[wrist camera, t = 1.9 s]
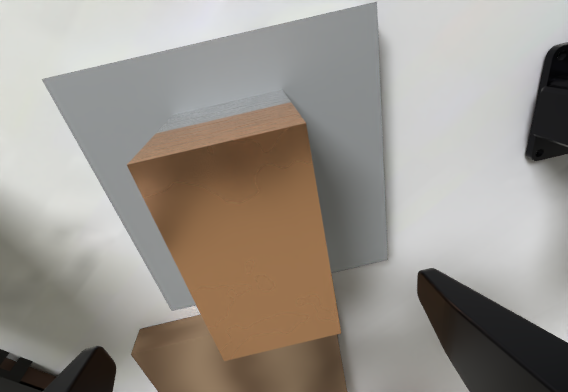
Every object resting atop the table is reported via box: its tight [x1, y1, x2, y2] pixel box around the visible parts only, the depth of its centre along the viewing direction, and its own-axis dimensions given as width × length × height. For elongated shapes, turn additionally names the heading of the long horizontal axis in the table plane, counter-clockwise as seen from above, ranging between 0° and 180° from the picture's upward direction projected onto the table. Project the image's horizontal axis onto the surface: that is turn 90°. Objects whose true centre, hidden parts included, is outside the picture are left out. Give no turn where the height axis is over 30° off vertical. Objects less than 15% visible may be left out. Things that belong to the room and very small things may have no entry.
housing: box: [127, 90, 341, 361], centre depth 13 cm, size 5×9×6 cm, turn 12°
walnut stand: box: [131, 315, 347, 392], centre depth 25 cm, size 14×14×2 cm
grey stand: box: [42, 2, 388, 311], centre depth 16 cm, size 14×14×2 cm
